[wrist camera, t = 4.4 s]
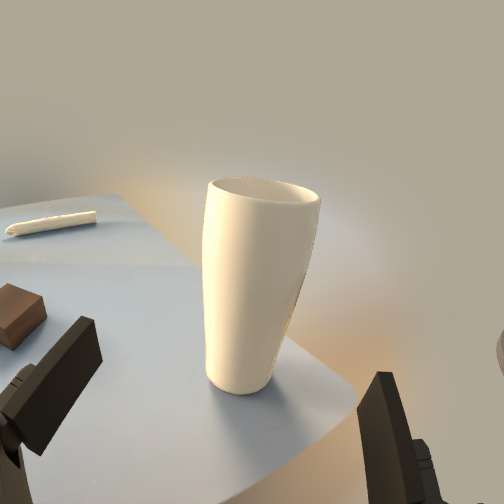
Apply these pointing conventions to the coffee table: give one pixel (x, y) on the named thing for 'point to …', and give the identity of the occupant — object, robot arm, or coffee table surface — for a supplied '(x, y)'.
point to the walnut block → (19, 314)
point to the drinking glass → (252, 274)
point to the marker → (51, 223)
